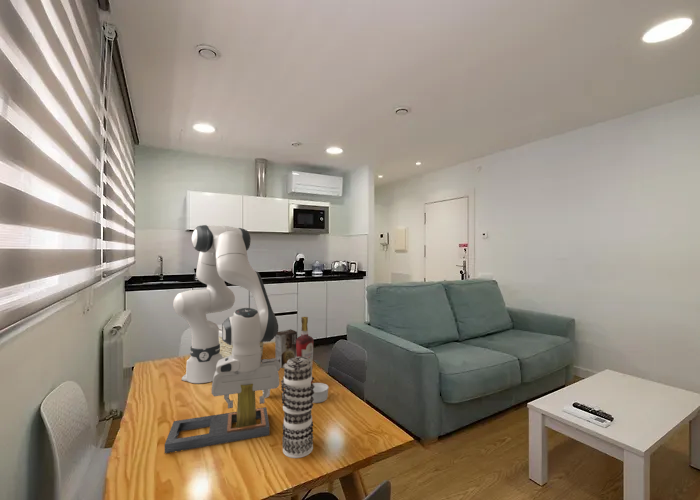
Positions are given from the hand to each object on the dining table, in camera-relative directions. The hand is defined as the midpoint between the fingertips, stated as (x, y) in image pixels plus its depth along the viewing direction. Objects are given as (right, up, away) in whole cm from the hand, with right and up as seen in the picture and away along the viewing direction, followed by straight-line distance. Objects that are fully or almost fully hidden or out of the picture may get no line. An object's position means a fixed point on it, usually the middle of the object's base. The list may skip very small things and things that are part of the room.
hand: (246, 405), depth 102 cm
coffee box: (+1, -8, +57) cm, 58 cm away
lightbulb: (+1, -7, +21) cm, 23 cm away
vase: (0, -7, 0) cm, 7 cm away
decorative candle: (+18, -7, -11) cm, 22 cm away
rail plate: (-7, -7, -2) cm, 10 cm away
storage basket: (-26, -8, +70) cm, 75 cm away
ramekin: (+20, -8, +20) cm, 30 cm away
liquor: (+14, -8, +33) cm, 37 cm away
